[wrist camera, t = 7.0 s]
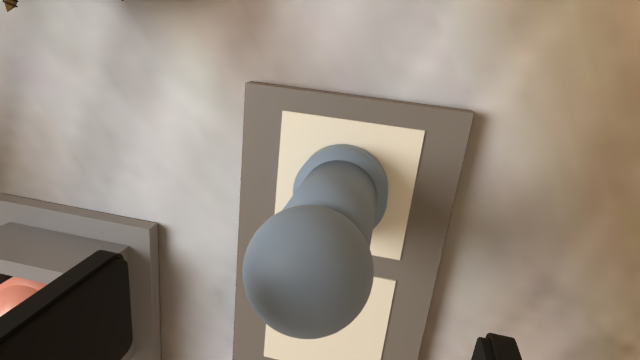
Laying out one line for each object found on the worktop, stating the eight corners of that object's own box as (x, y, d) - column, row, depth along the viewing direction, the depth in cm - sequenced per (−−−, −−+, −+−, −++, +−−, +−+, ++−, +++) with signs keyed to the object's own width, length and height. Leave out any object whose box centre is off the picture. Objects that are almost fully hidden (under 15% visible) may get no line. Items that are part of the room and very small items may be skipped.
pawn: (380, 235, 24) (362, 391, 13) (295, 220, 24) (212, 356, 14) (395, 151, 22) (388, 250, 11) (303, 137, 23) (216, 219, 12)
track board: (385, 484, 31) (385, 500, 30) (233, 444, 33) (227, 457, 32) (470, 110, 22) (474, 113, 21) (251, 81, 23) (244, 82, 22)
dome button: (114, 334, 30) (53, 395, 25) (41, 316, 31) (-33, 372, 26) (109, 261, 28) (41, 311, 23) (31, 245, 29) (-51, 289, 24)
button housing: (161, 366, 31) (119, 422, 27) (23, 332, 33) (-40, 379, 28) (157, 223, 27) (107, 259, 23) (1, 193, 29) (-76, 221, 25)
